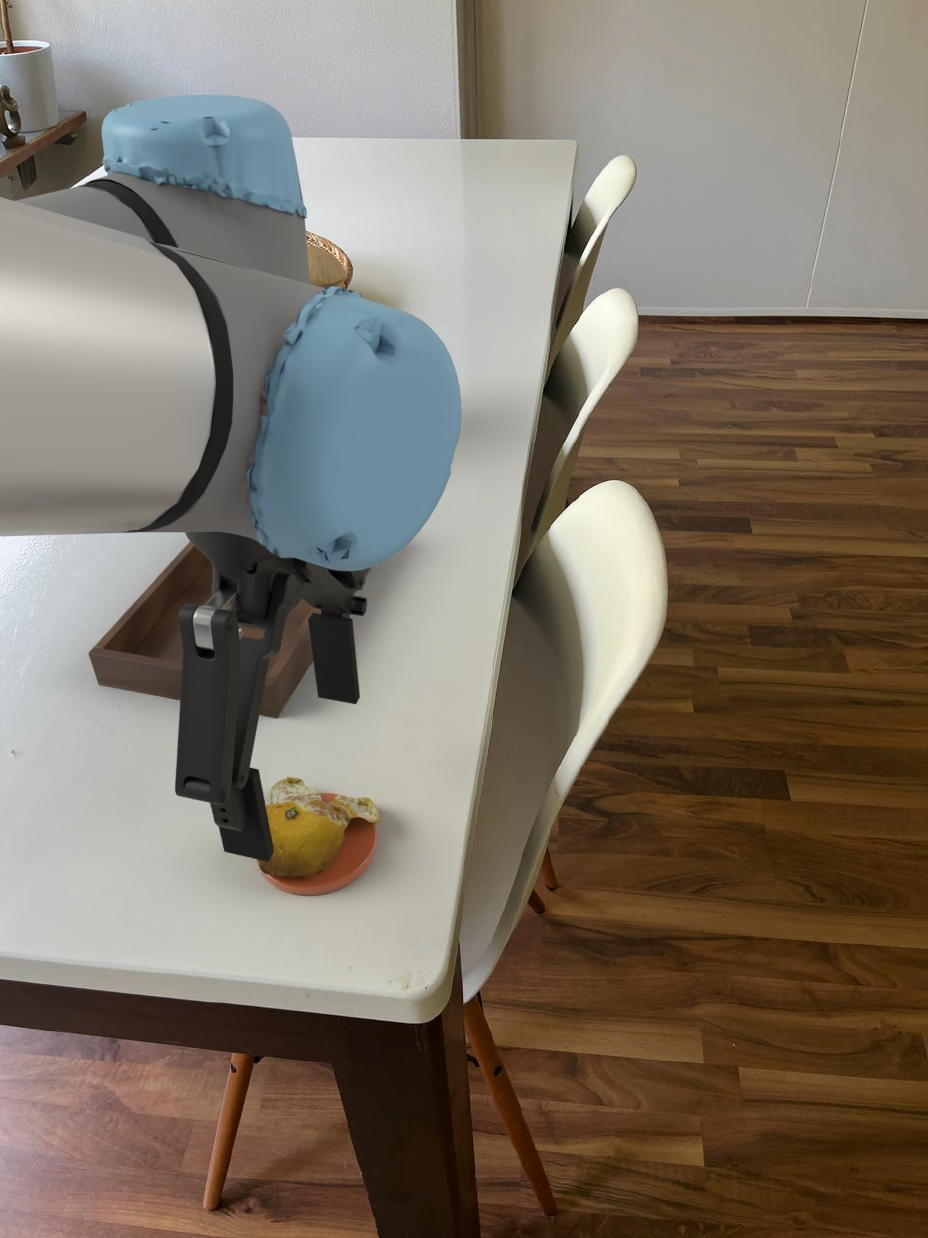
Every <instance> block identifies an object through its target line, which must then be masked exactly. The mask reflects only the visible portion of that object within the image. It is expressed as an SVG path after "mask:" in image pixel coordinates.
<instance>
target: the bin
mask: <svg viewBox="0 0 928 1238" xmlns="http://www.w3.org/2000/svg"><path fill="white" fill-rule="evenodd" d="M371 568H372V567H369V568H366V569H363V571H364V574H365V577H367V574H368V573H369V572H370V570H371ZM212 584H213V565H212V563H211V562H210V560H209V559H208V558H207V557H206V556H205V555H204V554H203V553H202V552H201V551H200V550H199V549H198V548H196V547H195V546H194V545H193V544H192V543H191V542H190V541H189V542H188V543H187V544H186V545H185V546H184V547H183V548H182V549H181V550H180V552H178V553H177V555H176V556H175V557H174V558H173V559H172V561H171V562H170V563H169V564H167V566H166V567H165V568H164V569H163V570H162V572H160V573H159V575H158V576H157V577H156V578H155V579H154V580H153V582H152V583H150V585H149V586H147V588H146V589H145V590H144V591H143V592H142V593H141V595H140V596H139V597H138V598H137V599H136V600H135V601H134V602H133V603H132V604H131V606H130V607H128V608H127V610H126V611H125V612H124V614H122V616H120V618H119V619H118V620H117V621H116V622H115V623H114V624H113V625H112V627H110V628H109V630H108V631H107V632H105V634H104V635H103V636H102V637H101V638H100V640H99V641H98V642H96V644H95V645H94V646H93V647H92V648H91V649H90V651H88V653H87V654H88V657H89V661H90V663H91V666H92V669H93V672H94V676H95V678H96V681H97V684H98V685H100V686H103V687H109V688H114V689H120V690H125V691H130V692H136V693H142V694H147V695H152V696H157V697H163V698H167V699H172V700H178V701H180V696H181V680H182V663H183V647H182V641H181V634H180V627H179V613H180V610H181V608H182V606H183V605H184V604H186V603H187V604H193V605H199V606H203V605H204V604H205V603H206V602H207V601H208V600H210V599H211V598H212V597H213V596H212ZM357 591H358V590H356V589H354V592H353V595H354V596H355V594H356V592H357ZM312 613H319V614H321V609H316V608H314V607H313V606H311V605H310V604H309V603H307V602H306V601H305V600H303V599H301V600H300V602H299V603H298V604H297V606H295V607H294V608H293V609H292V610H291V611H290V612H289V614H288V617H287V619H286V621H285V625H284V631H283V637H282V642H281V648H280V651H279V653H278V654H277V655H275V656H273V657H271V658H270V660H269V663H268V669H267V675H266V680H265V686H264V691H263V697H262V703H261V708H260V714H259V716H264V717H270V718H275V719H278V717H279V716H280V715H281V712H282V711H283V709H284V708H285V706H286V704H287V703H288V701H289V700H290V698H291V697H292V695H293V693H294V692H295V690H296V688H297V687H298V685H299V684H300V682H301V680H302V679H303V677H304V676H305V674H306V672H307V671H308V669H310V666H311V665H312V663H313V654H312V647H311V639H310V631H309V624H308V618H309V617H310V616H311V614H312ZM238 627H242V628H243V630H244V634H243V637H247V638H253V639H261V638H262V637H263V635H264V632H265V631H262V630H256V629H250V628H245V627H243V626H241V625H239V624H238Z"/></svg>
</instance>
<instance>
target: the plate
mask: <svg viewBox="0 0 928 1238" xmlns="http://www.w3.org/2000/svg"><path fill="white" fill-rule="evenodd" d="M319 794H320V796H321V798H322V799H321V800H322V801H324V802H326V803H330V802H332V801H333V800H334V799H335V797H337V796H338V794H339V793H332V792H319ZM340 795H341V796H342V797H344V798H349V796H345V795H343V794H340ZM369 823H370V822H368V821H367V820H366V819H364V818H362V817H355V818H352V819H351V820H350V822H349V824H348V826H347V827H346V828H345V830H344V832H345V833H344V844H343V846H342V847H341V848H340V850H339V851H338V853H337V855H336V857H335V859H334V864H332V865H331V866H330V867H329V868H328V869H326V870H320V871H318V872H317V873H316V874H315V875H314V876H312V877H307V876H306V877H302V876H295V877H290V876H280V875H278V876H277V877H276V876H273V875H269V874H265V873H263V872H262V870H261V869H260V867H259V863H258V860H257V859H255V860H256V861H255V862H256V865H257V867H258V870H259V872H260V874H261V875H262V877H264V879H265V880H266V881H267V882H268V883H269V884H270V885H272V886H273V887H275V888H277V889H278V890H281V891H283V892H286V893H288V894H294V895H299V896H319V895H325V894H328V893H333V892H335V891H338V890H340V889H342V888H344V887H347V886H348V885H349V884H351V883H352V882H354V881H356V880H357V879H358V878H360V876H361V875H362V874H363V873H364V872H365V871H366V870H367V868H368V867H369V866H370V864H371V862H372V860H373V859H374V857H375V854H376V850H377V844H378V837H377V836H378V835H377V829H376V823H374V824H369Z"/></svg>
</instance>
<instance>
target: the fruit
mask: <svg viewBox="0 0 928 1238" xmlns="http://www.w3.org/2000/svg"><path fill="white" fill-rule="evenodd" d="M269 793H270V804H265V805H266V810H267V816H268V821H269V826H270V832H271V837H272V842H273V848H274V853H273V855H272V857H271V859H270V860H269V862H267V861H262V860H258V859H257V860H258V863H259V867H260V869H261V870H262V872H263V873H265V874H269V875H273V876H276V877H277V876H278V875H280V876H290V877H295V876H302V877H306V876H307V877H312V876H314V875H315V874H316V873H317V872H318V871H320V870H326V869H328V868H329V867H330V866H331V865H332V864H334V859H335V857H336V855H337V853H338V851H339V850H340V848H341V847H342V846H343V844H344V833H345V832H344V830H345V828H346V827H347V826H348V824H349V822H350V820H351V819H352V818H355V817H362V818H364V819H366V820H367V821H368V822H370V823H369V824H378V823H379V822H380V820H381V814H380V813H381V812H380V811H379V810H378V808H377V806H376V804H375V802H373V801H372V799H371V798H370V797H363V796H360V797H355V798H354V797H348V798H344V797H342V796H341V795H342V794H339V793H337V794H338V796H337V797H335V799H334V800H333V801H332V802H330V803H326V802H324V801H322V800H321V799H322V798H321V796H320V794H319V793H320V792H319V791H318V790H317V789H310V788H309V787H308V786H307V785H306V784H305V782H304V780H303V779H301V778H298V777H291V776H287V777H285V778H282V779H280V780H279V781H277V782H276V783H274V784H273V786H272V787H271V790H270V792H269Z"/></svg>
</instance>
